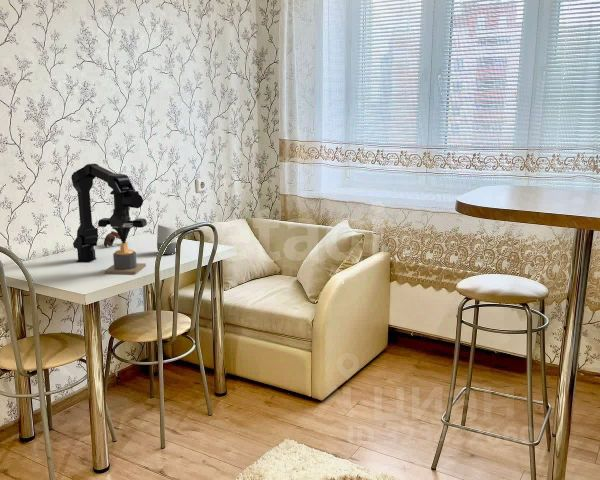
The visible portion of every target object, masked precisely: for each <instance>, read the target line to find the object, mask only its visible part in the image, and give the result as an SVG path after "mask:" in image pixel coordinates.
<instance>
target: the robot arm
mask: <svg viewBox="0 0 600 480" xmlns="http://www.w3.org/2000/svg"><path fill="white" fill-rule="evenodd" d="M70 178H71V183H72V186H73V188H74V189H75V191H76V193H77V200H78V201H77V202H78V212H79V227H78V228H77V231H76V238H75V240H74V241H73V242H72V246H73V248H74V249H77V260H76V263H78V262H79V263H92V262H93V261H95V260H96V259H97V257H96V249H95V247H97V246H98V239H99V232H98V231H99V229H98V228H106V227H108V225H109V226H110V227H111V229H112V230H114V231H115V232H117V233H118V234H119V237H120V239H121V240H120V239H119V240H120V241H121V243H125V242H127V238H128V236H129V233H130V231H131V229H132V228H135V229H136V228H139V229H141V228H144V227H146V226H147V225H148V221H147V219H146V218H135V219H134V220H132V219H131V216H130V210H131V209H133V208H134V209H140V208H141V207H142V205H143V203H144V198H143V195H141V194H140V192H139V190H136V188H135V186H134V184H133V183H132V181H131V179H130V177H129V175H127V174H125V173H114V172H112V171H110V170H109V169H107V168H104V167H103V166H101V165H99V164H97V163H87V164H85V165H84V166H83V167H81V168H79V169H77V170H75V171H74V172H72V174H71V177H70ZM96 178H98V180H99V179H100V180H101V181H103V182H106V184H107V186H108V188H110V189H111V191H110V193H109V194H110V195H112V196H113V209H112V212H113V213H112V214H111V216H110V217H102V218H100V219H99V220H98V222H97V227H95V226H94V224H93V219H92V218H93V216H92V205H91V193H90V191H91V190H92V188H93V185H94V179H96Z"/></svg>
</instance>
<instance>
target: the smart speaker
mask: <svg viewBox="0 0 600 480" xmlns="http://www.w3.org/2000/svg"><path fill="white" fill-rule="evenodd" d="M174 231H175V232H176V230H175V227H173V226H171V225H167V224H162V223H161V224H160V223H158V224H157V237H156V248H157V252H158V251H159V249H160V247H161V245H162V244H163V242H164V241H165V240H166V239H167V237H168V236H170V235H171V234H172V233H173V232H174ZM176 240H177V236H176V237H175V238H174V239H173V240H172V241H171V243H170V244H169V245H168V246H167V248H166V250H165V252H164V254H171V255H173V254H172V253H174V254H176V252H175V248H176ZM177 241H178V240H177Z"/></svg>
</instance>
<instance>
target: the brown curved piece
mask: <svg viewBox="0 0 600 480" xmlns="http://www.w3.org/2000/svg"><path fill="white" fill-rule="evenodd" d="M116 239H118V240H120V241H121V239H120V237H119V234H118V233H117V231H115V230H111V231H110V233H107V235H105V237H104V240H103V246H104V247H105V248H107V247H113V245H114V242H115V241H116Z"/></svg>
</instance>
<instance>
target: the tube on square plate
mask: <svg viewBox="0 0 600 480" xmlns="http://www.w3.org/2000/svg"><path fill="white" fill-rule="evenodd" d="M112 254H113V255H112V256H113V257H112V258H113V264H112V265H111V266H109V267H108V268H106V269H105V270H103V271H104V274H105V275H136V274H138V273H139V272H141V271H142V270H143V269H145V268H146V267H147V264H146V263H143V262H142V263H139V262H138V263H137V252H136V251H134V250H133V254H130V255H116V254H115V252H113V253H112Z"/></svg>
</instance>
